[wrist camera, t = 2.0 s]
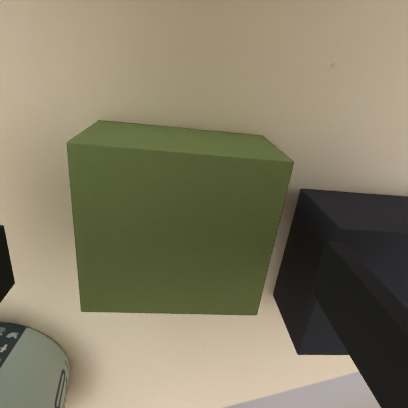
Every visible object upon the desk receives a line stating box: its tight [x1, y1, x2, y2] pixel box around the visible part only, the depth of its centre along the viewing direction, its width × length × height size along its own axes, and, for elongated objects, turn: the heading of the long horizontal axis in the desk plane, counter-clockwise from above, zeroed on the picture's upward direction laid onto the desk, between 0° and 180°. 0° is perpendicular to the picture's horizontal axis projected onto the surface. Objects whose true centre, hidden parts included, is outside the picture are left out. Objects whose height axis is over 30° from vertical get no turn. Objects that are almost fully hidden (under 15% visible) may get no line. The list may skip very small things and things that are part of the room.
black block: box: [273, 189, 408, 355], centre depth 18 cm, size 9×8×5 cm
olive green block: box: [67, 120, 294, 315], centre depth 16 cm, size 9×8×5 cm
